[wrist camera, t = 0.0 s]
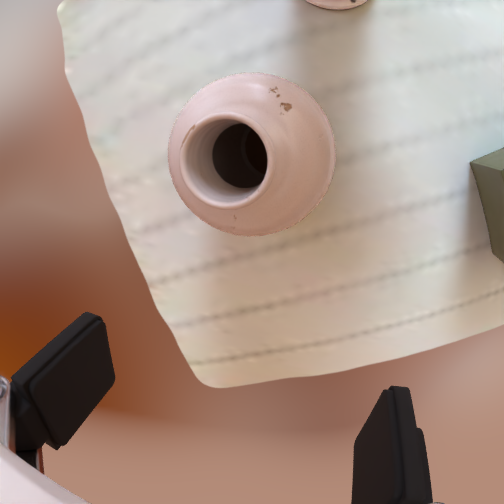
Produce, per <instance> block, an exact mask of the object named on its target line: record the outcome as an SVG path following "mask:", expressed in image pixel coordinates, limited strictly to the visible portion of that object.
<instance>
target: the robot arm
mask: <svg viewBox="0 0 504 504" xmlns="http://www.w3.org/2000/svg"><path fill="white" fill-rule="evenodd" d="M306 1H307V2H309V3H311V4H314V5H316V6H319V7H322V8H327V9H335V10H343V9H350V8H354V7H357V6H359V5H361V4H363V3H365V2H366V1H367V0H306ZM352 1H353V2H355V3H352ZM11 379H12V382H11V383H9V381H8V380H7V379H6V378H5V377H3V376H0V504H91V503H89V502H87V501H85V500H83V499H82V498H80V497H78V496H77V495H75V494H73V493H72V492H70V491H68V490H67V489H65V488H63V487H62V486H60V485H59V484H57V483H56V482H54V481H52V480H51V479H49V478H48V477H47V476H45V475H44V466H43V455H42V446H43V444H44V443H45V442H46V444H48V445H49V446H51V447H52V448H54V449H55V450H58V449H59V448H60V446H64V445H66V444H67V443H68V441H69V440H70V439H71V437H72V436H73V435H74V433H75V432H76V431H77V430H78V428H79V427H80V426H81V425H82V423H83V422H84V421H85V419H86V418H87V417H88V416H89V414H90V413H91V412H92V411H93V409H94V408H95V407H96V406H97V404H98V403H99V402H100V400H101V399H102V398H103V397H104V396H105V394H106V393H107V392H108V390H109V389H110V388H111V387H112V386H113V384H114V381H115V373H114V368H113V364H112V358H111V354H110V348H109V342H108V337H107V331H106V325H105V323H104V322H103V320H102V318H101V317H100V316H97V315H95V314H92V313H89V312H85V313H83V314H82V315H81V316H80V317H79V318H77V319H76V320H75V321H74V322H73V323H71V324H70V325H69V326H68V327H67V328H66V329H64V330H63V331H62V332H61V333H60V334H59V335H57V336H56V337H55V338H54V339H53V340H52V341H50V342H49V343H48V344H47V345H46V346H45V347H44V348H43V349H42V350H40V351H39V352H38V353H37V354H36V355H35V356H34V357H32V358H31V359H30V360H29V361H28V362H27V363H26V364H25V365H24V366H22V367H21V368H20V369H19V370H18V371H17V372H16V373H15V374H14V375H13V376H12V377H11ZM353 461H354V462H353V485H352V502H351V504H444V503H440V502H434V503H433V499H432V490H431V482H430V473H429V466H428V459H427V452H426V446H425V441H424V435H423V432H422V430H421V429H420V428H417V426H416V421H415V415H414V410H413V404H412V399H411V394H410V390H409V388H407V387H399V386H390V388H389V389H388V390H383V392H382V393H381V395H380V397H379V399H378V401H377V403H376V405H375V407H374V408H373V410H372V412H371V414H370V416H369V417H368V419H367V421H366V423H365V424H364V426H363V428H362V430H361V431H360V433H359V435H358V436H357V438H356V440H355V443H354V460H353Z"/></svg>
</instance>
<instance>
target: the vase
mask: <svg viewBox="0 0 504 504" xmlns="http://www.w3.org/2000/svg"><path fill="white" fill-rule="evenodd" d="M335 162H336V146H335V138H334V135H333V131H332V127H331V125H330V123H329V121H328V118H327V116H326V114H325V113H324V111H323V110H322V108H321V107H320V105H319V104H318V103H317V102H316V101H315V100H314V99H313V97H312V96H311V95H310V94H309V93H307V92H306V91H305V90H303V89H302V88H301V87H299V86H298V85H296V84H294V83H292V82H290V81H288V80H287V79H284V78H281V77H278V76H275V75H270V74H264V73H240V74H234V75H229V76H226V77H223V78H221V79H218V80H216V81H214V82H212V83H210V84H208V85H206V86H205V87H203V88H202V89H201V90H199V91H198V92H197V93H195V94H194V95H193V96H192V97H191V98H190V100H189V101H188V102H187V103H186V104H185V106H184V107H183V108H182V110H181V111H180V113H179V114H178V116H177V119H176V121H175V123H174V125H173V128H172V131H171V134H170V138H169V145H168V163H169V170H170V174H171V178H172V181H173V184H174V186H175V188H176V190H177V192H178V194H179V196H180V197H181V199H182V200H183V202H184V203H185V205H186V206H187V207H188V208H189V209H190V210H191V211H192V212H193V213H194V214H195V215H196V216H197V217H199V218H200V219H201V220H202V221H204V222H206V223H207V224H209V225H211V226H212V227H214V228H217V229H219V230H221V231H224V232H227V233H231V234H235V235H242V236H262V235H267V234H272V233H276V232H279V231H282V230H284V229H287V228H289V227H291V226H292V225H294V224H296V223H298V222H299V221H301V220H302V219H303V218H305V217H306V216H307V215H308V214H310V213H311V212H312V211H313V209H314V208H315V207H316V206H317V205H318V204H319V203H320V201H321V200H322V198H323V197H324V195H325V194H326V192H327V190H328V188H329V185H330V183H331V181H332V177H333V173H334V169H335Z"/></svg>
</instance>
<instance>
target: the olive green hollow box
mask: <svg viewBox="0 0 504 504" xmlns="http://www.w3.org/2000/svg"><path fill="white" fill-rule="evenodd" d="M470 164H471V167H472V170H473V173H474V176H475V180H476V183H477V187H478V190H479V194H480V198H481V202H482V205H483V210H484V214H485V218H486V222H487V227H488V232H489V237H490V242H491V247H492V253H493V254H494V255H495V256H496V257H497V258H499V259H500V260H501V261H502V262H503V263H504V170H503V169H504V148H502V149H499V150H497V151H495V152H492V153H490V154H487V155H485V156H483V157H480V158H478V159H476V160H473V161H471V162H470Z"/></svg>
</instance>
